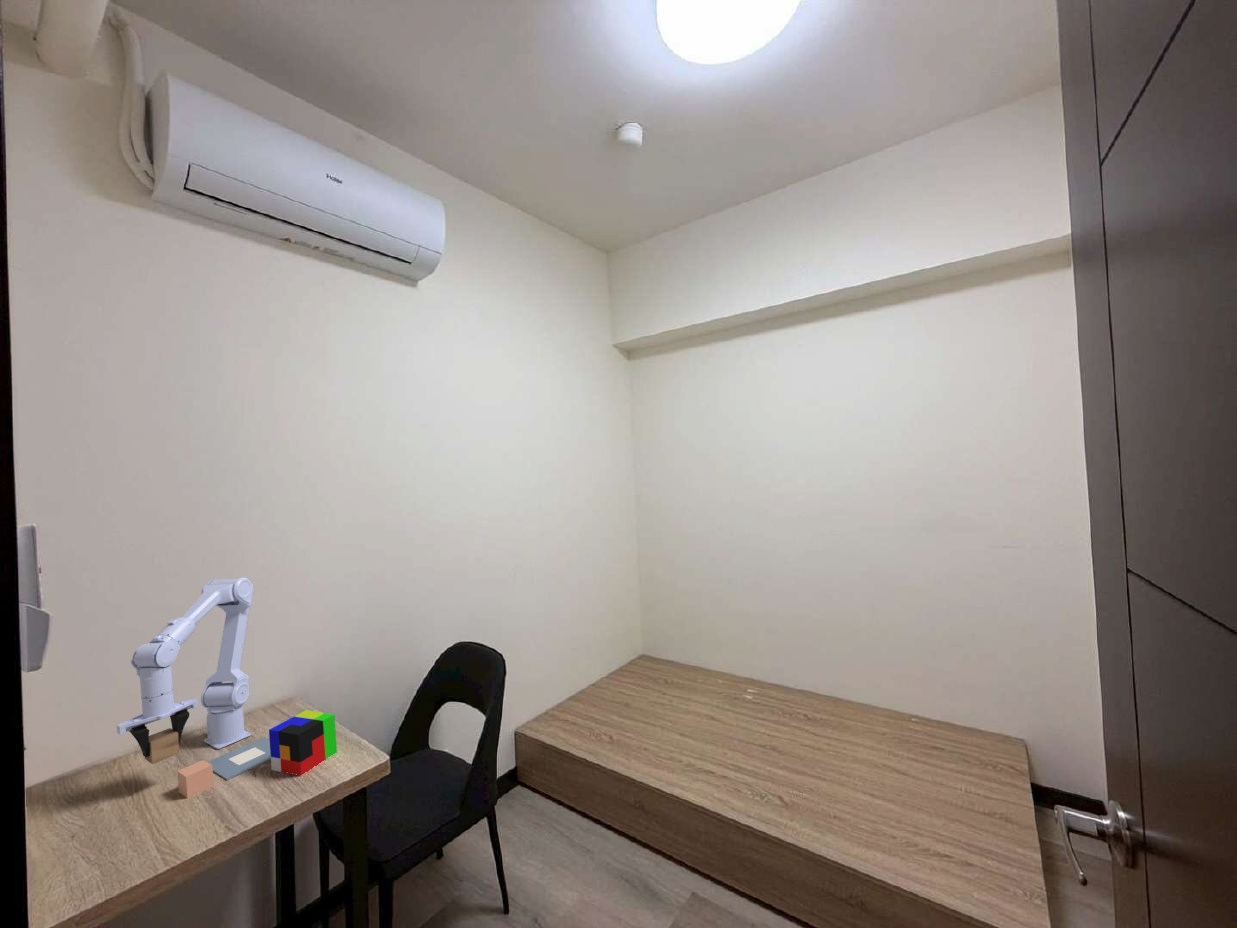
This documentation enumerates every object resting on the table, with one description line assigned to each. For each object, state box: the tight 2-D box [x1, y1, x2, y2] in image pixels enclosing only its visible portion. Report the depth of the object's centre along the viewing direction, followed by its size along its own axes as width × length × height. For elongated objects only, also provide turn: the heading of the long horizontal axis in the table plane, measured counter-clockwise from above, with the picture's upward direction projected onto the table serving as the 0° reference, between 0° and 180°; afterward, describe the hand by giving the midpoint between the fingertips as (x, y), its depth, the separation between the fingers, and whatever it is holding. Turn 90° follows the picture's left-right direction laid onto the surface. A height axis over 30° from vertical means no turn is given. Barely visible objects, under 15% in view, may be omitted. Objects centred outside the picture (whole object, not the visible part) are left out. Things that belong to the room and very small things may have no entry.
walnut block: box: [144, 727, 180, 765], centre depth 124 cm, size 5×5×5 cm
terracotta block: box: [177, 759, 215, 799], centre depth 121 cm, size 5×5×5 cm
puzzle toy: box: [268, 710, 338, 776], centre depth 130 cm, size 10×10×10 cm
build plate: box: [207, 736, 271, 781], centre depth 133 cm, size 14×14×1 cm
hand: (161, 749), depth 124 cm, fingers closed on walnut block, 5 cm apart
